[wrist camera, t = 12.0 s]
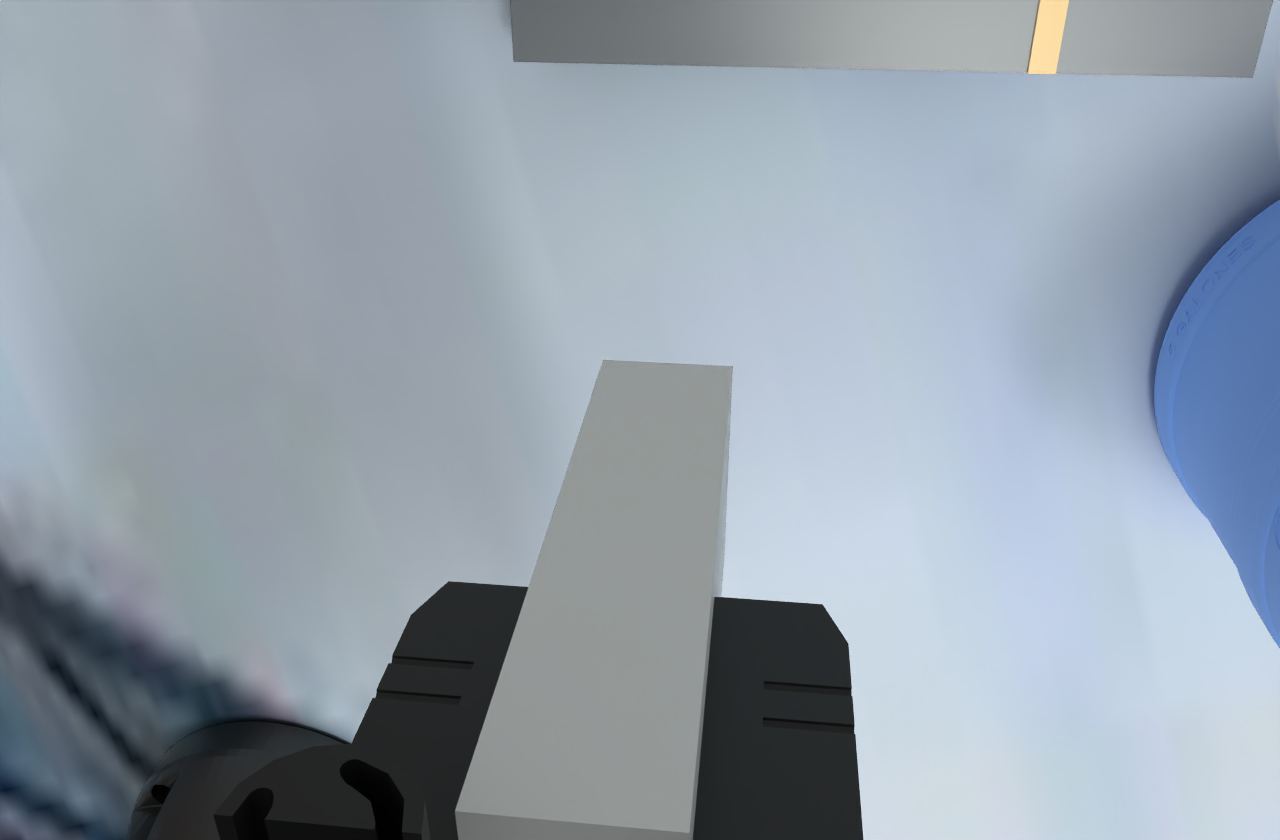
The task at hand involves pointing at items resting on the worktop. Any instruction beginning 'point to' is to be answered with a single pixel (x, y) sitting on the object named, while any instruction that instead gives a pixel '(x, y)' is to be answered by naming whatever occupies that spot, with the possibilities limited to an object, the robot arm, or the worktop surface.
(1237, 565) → the water jug
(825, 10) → the console
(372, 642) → the worktop surface
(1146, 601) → the worktop surface
